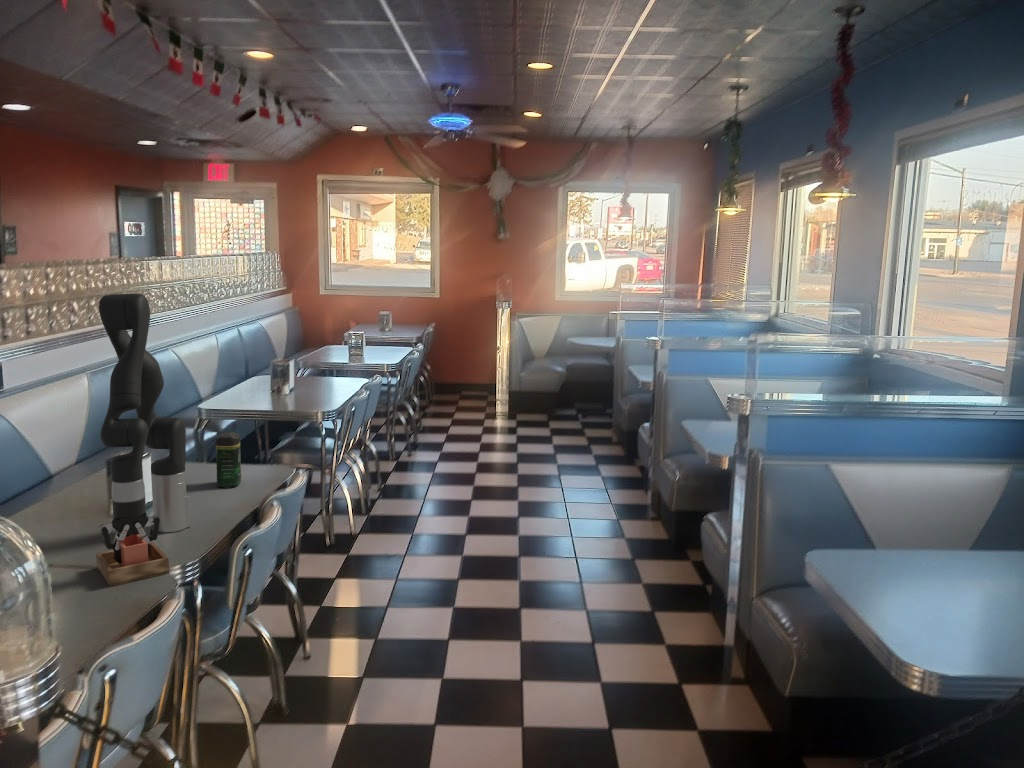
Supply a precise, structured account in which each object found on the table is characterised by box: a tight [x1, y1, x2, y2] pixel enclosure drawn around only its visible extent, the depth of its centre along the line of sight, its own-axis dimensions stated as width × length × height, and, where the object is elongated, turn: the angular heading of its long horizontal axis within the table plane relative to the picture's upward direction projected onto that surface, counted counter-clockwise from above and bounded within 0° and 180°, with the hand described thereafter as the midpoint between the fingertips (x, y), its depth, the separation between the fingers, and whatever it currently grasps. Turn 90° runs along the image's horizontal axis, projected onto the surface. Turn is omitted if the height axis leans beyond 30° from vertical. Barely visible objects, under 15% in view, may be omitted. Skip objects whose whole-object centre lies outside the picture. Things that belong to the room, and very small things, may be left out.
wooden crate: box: [95, 541, 170, 587], centre depth 199 cm, size 14×14×4 cm
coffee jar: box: [215, 431, 242, 489], centre depth 272 cm, size 10×8×19 cm
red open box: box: [120, 534, 149, 567], centre depth 199 cm, size 9×6×6 cm, turn 39°
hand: (132, 559), depth 199 cm, fingers closed on red open box, 5 cm apart
